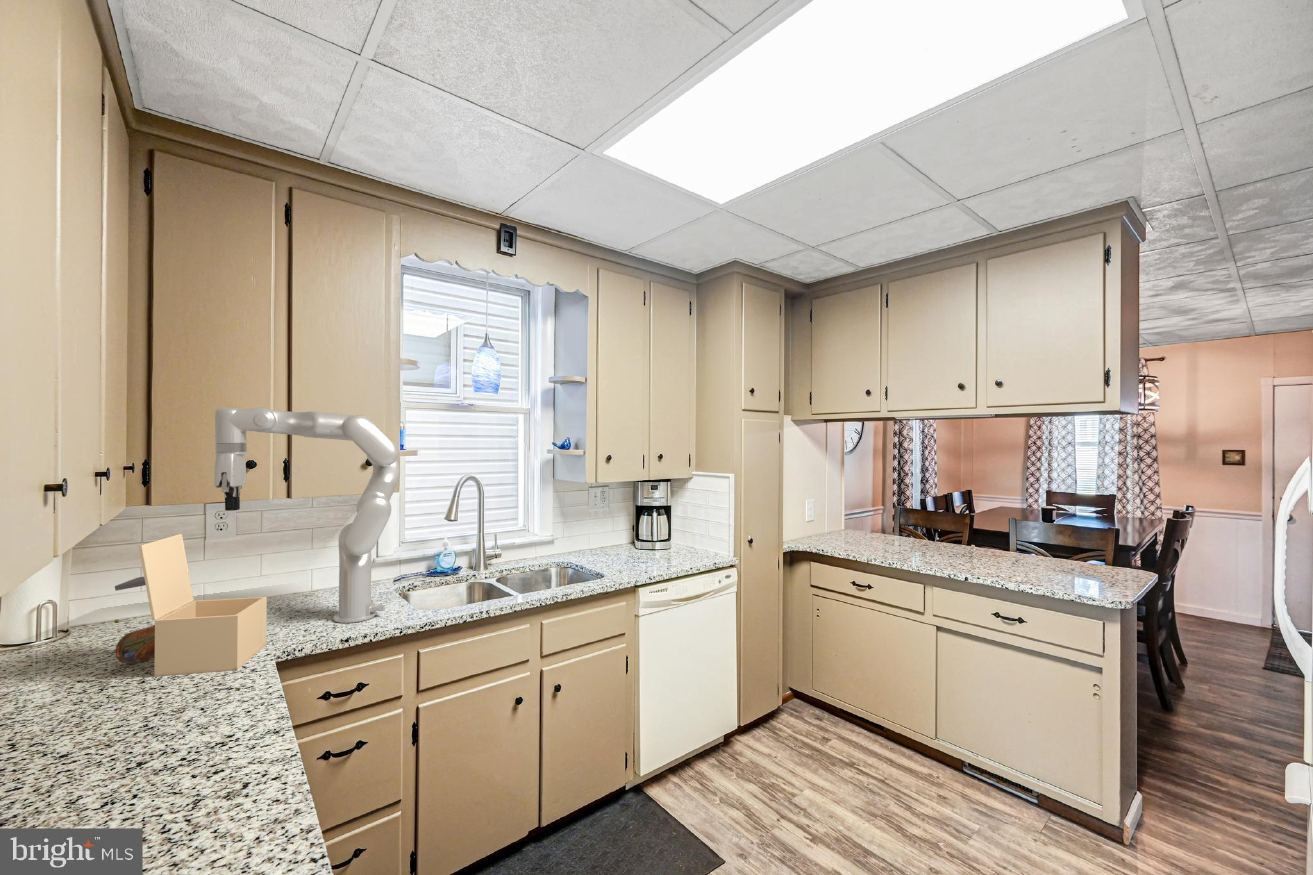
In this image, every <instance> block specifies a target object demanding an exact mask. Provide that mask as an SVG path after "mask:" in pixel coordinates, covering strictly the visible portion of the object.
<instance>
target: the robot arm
mask: <svg viewBox="0 0 1313 875" xmlns="http://www.w3.org/2000/svg"><path fill="white" fill-rule="evenodd" d="M247 432H255V433H256V432H257V433H266V434H268V433H269V434H279V435H293V436H300V437H304V438H313V439H322V440H323V439H327V440H338V441H351V442H353V443H354V444H355V445H356V446H357V447H358V448H359V449H360V450H361V451H362V452H363V453H364V454H365V455H366V457H367V460H368V461H369V462H370V463H371V465H372V474H371V476H370V479H369V481H368V483H367V485H366V486H365V489H364V491H363V493H362V494H361V496H360V497H359V500H358V501H357V503H356V508H355V510H356V514H355V516H354V518H353V521H352V522H350V523H347V524H346V525H345V526H343V527H342V529H341V530H340V531H339V535H338V539H337V540H338V557H339V558H338V559H339V563H338V564H339V565H338V566H339V567H338V568H339V569H338V570H339V571H338V572H339V573H338V612H337V613H336V614H334V615H333V621H334V622H335V623H341V624H345V623H346V624H349V623H359V622H363V621H367V620H370V619H372V618H374V617H375V616H376V614H377V612H384V611H385V610H386V606H385V604H382V603H381V604H380V603H378V604H376V603H374V600H372V550H374V548H375V547H376V545H377V543H378V542H379V539H380V537H381V536H382V533H383V531H384V529H385V528H386V526H387V524H388V521H389V519H390V517H391V514H392V504H391V502H390V501H391V499H392V497H393V494H394V492H395V489H396V487H397V485H398V483H399V479H400V476H401V467H400V462H399V458H398V457H399V450H398V448H397V446H396V444H394V442H393V441H392V440H391V439H390V438H389V437H387V436H386V434H384V432H382V430H381V429H379V427H378V426H377V425H376V424H375V423H374V422H373V421H372V420H371V419H370V418H368V417H367V416H364V415H361V414H360V415H359V414H357V415H353V414H342V413H341V414H339V413H334V412H332V413H331V412H324V411H288V410H287V411H286V410H276V409H269V408H267V407H255V408H238V407H237V408H236V407H232V408H231V407H230V408H229V407H222V408H217V409H216V410H215V412H214V438H215V439H214V441H215V445H214V446H215V447H214V448H215V455H216V457H215V462H214V474H213V476H214V478H213V479H214V480H213V481H214V482H213V486H214V487H215V488H217V489H219V488H221V493H223V496H224V510H225V511H227V512H229V511H238V510H240V509H241V505H240V504H241V502H240V501H241V500H240V499H241V498H240V496H241V489H242V488H243V486H244V485H245V484H246V483H247V467H246V466H247V465H246V464H247V463H246V457H245V456H246V455H245V454H247V452H248V451H247V450H248V448H247V444H248V443H247Z"/></svg>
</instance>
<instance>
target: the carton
mask: <svg viewBox="0 0 1313 875" xmlns="http://www.w3.org/2000/svg"><path fill="white" fill-rule="evenodd" d="M267 600H268V597H267V596H257V597H256V596H254V597H240V598H222V599H221V598H219V599H202V600H200V599H199V600H193V601H191V602H189V603H187V604H185V605H183V606H181V607H179V608H177V609H175V610H173V611H171V612H170V613H168V614H166V615H164V616H162V617H160V618H158V619H156V620H154V625H155V657H154V676H153V677H164V676H177V675H179V676H180V675H190V674H201V673H213V672H227V671H237V670H239V669H241V667H243V665H244V664H246V663H247V662H248V661H250V660H251V659H252V658H254V656H255V655H256V654H258V653H259V652H260V651H261V650H263V649H264V648H265V647H266V646H267V624H268V623H267V619H268V618H267V614H268V611H267V608H268V607H267V606H268V604H267V603H268V602H267Z"/></svg>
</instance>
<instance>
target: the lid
mask: <svg viewBox="0 0 1313 875" xmlns="http://www.w3.org/2000/svg"><path fill="white" fill-rule="evenodd" d="M138 549H139V550H138V551H139V555H140V562H141V567H142V572H143V573H142V574H143V576H139V577H134V578H133V579H130V580H127V581H124V582H122V583H120V584H117V585H115V586H114V590H115V592H116V591H122V590H127V589H128V590H129V589H132V588H138V587H146V588H145V589H146V595H147V599H148V600H147V601H148V604H149V610H150V615H151V620H152V621H155V620H157V619H159V618H161V617H163V616H165V615H167V614H169V613H171V612H173V611H175V610H177V609H179V608H181V607H183V606H185V605H187V604H188V603H190V602H192V601H195V598H194V594H193V588H192V582H191V577H190V571H189V570H190V569H189V566H188V560H187V555H186V549H185V543H184V538H183V534H182V533H179V534H176V535H171V536H168V537H165V538H162V539H159V540H155V541H151V542H148V543H145V544H140V545H138Z"/></svg>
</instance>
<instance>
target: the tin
mask: <svg viewBox="0 0 1313 875" xmlns="http://www.w3.org/2000/svg"><path fill="white" fill-rule="evenodd" d="M115 657H116V659H117V660H118V661H119V662H120V663H123V664H129V665H135V664H136V665H137V664H140V663H144V662H146V661H148V660H151V659H153V658H154V659H155V624H152V625H150V626H147V627H143V628H140V629H137V630H133V631H131V632H128V633H126V634H125V635H124V636H122V637H121V638H120V639H119V641H118V642H117V644H116V646H115Z"/></svg>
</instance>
